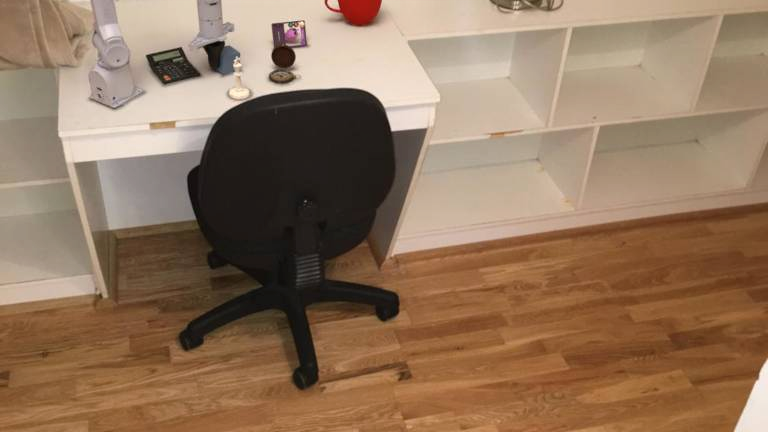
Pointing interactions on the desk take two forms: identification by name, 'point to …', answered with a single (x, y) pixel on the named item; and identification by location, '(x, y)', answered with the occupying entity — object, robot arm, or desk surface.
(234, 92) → the chess piece
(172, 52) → the calculator
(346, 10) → the ceramic cup
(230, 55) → the slate block
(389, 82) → the desk surface
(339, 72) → the desk surface
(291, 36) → the purple printed box
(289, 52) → the compass
